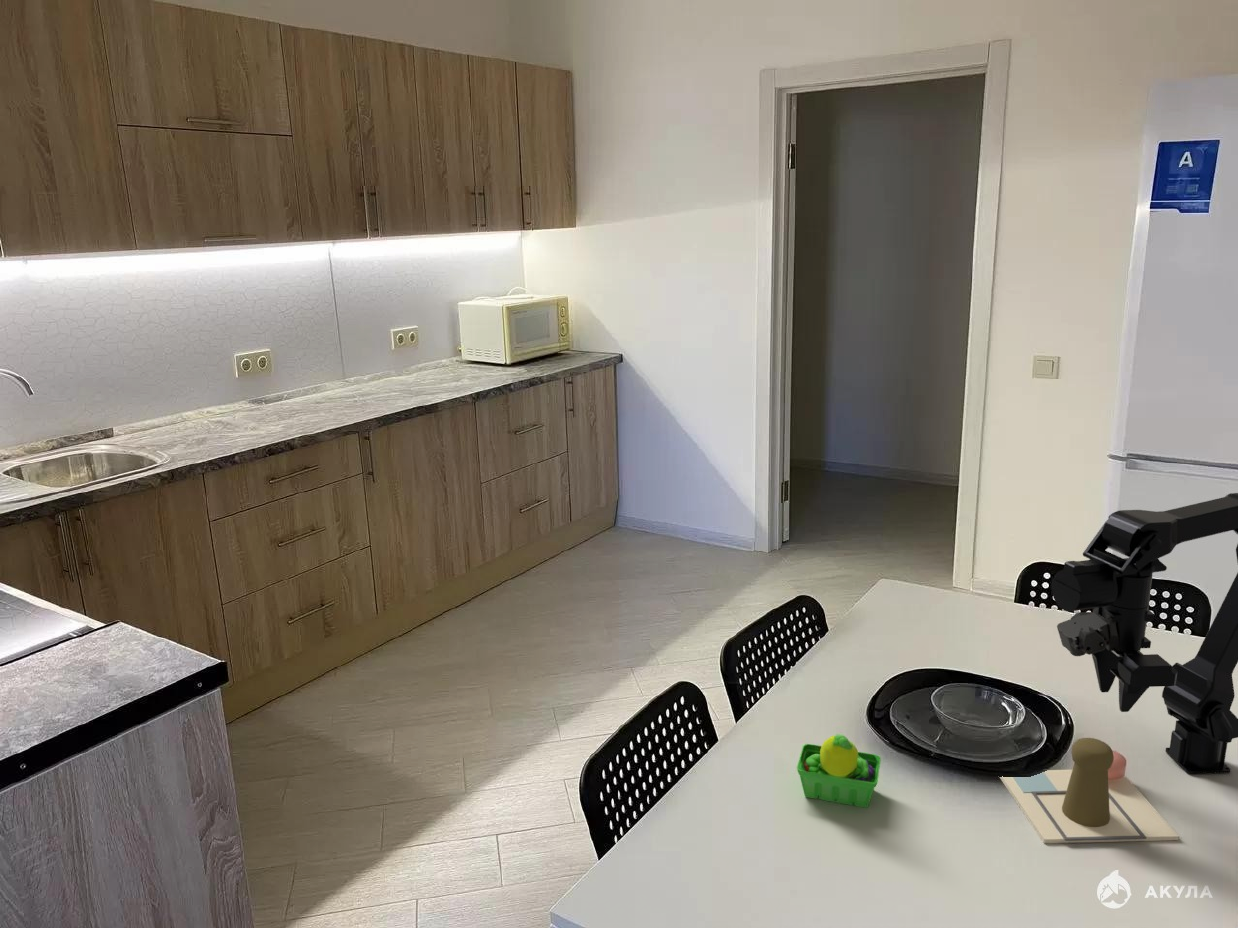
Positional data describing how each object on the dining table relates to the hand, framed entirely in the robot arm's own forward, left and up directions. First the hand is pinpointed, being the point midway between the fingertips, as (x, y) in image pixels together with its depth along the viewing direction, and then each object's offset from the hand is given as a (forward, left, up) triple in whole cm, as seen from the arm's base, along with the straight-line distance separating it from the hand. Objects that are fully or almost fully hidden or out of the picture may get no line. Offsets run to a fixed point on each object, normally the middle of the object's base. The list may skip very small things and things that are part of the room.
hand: (1113, 701), depth 138 cm
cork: (+7, +9, -13) cm, 17 cm away
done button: (0, 0, -11) cm, 11 cm away
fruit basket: (+40, +2, -13) cm, 42 cm away
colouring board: (+6, +6, -13) cm, 15 cm away
